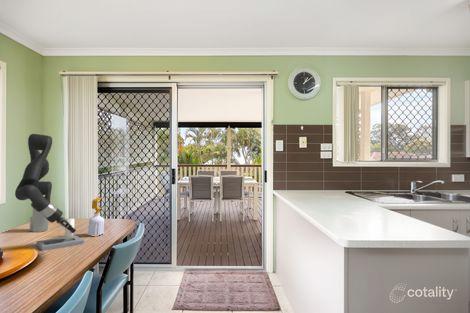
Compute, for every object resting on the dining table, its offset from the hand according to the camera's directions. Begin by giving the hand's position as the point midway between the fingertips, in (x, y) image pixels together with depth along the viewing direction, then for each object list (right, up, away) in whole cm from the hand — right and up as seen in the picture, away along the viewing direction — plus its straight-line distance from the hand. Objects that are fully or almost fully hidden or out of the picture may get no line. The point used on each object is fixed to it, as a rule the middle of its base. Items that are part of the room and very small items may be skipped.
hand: (73, 230), depth 153 cm
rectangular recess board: (-4, -6, -5) cm, 9 cm away
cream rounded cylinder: (-2, -6, -2) cm, 6 cm away
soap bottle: (+4, -8, +17) cm, 19 cm away
